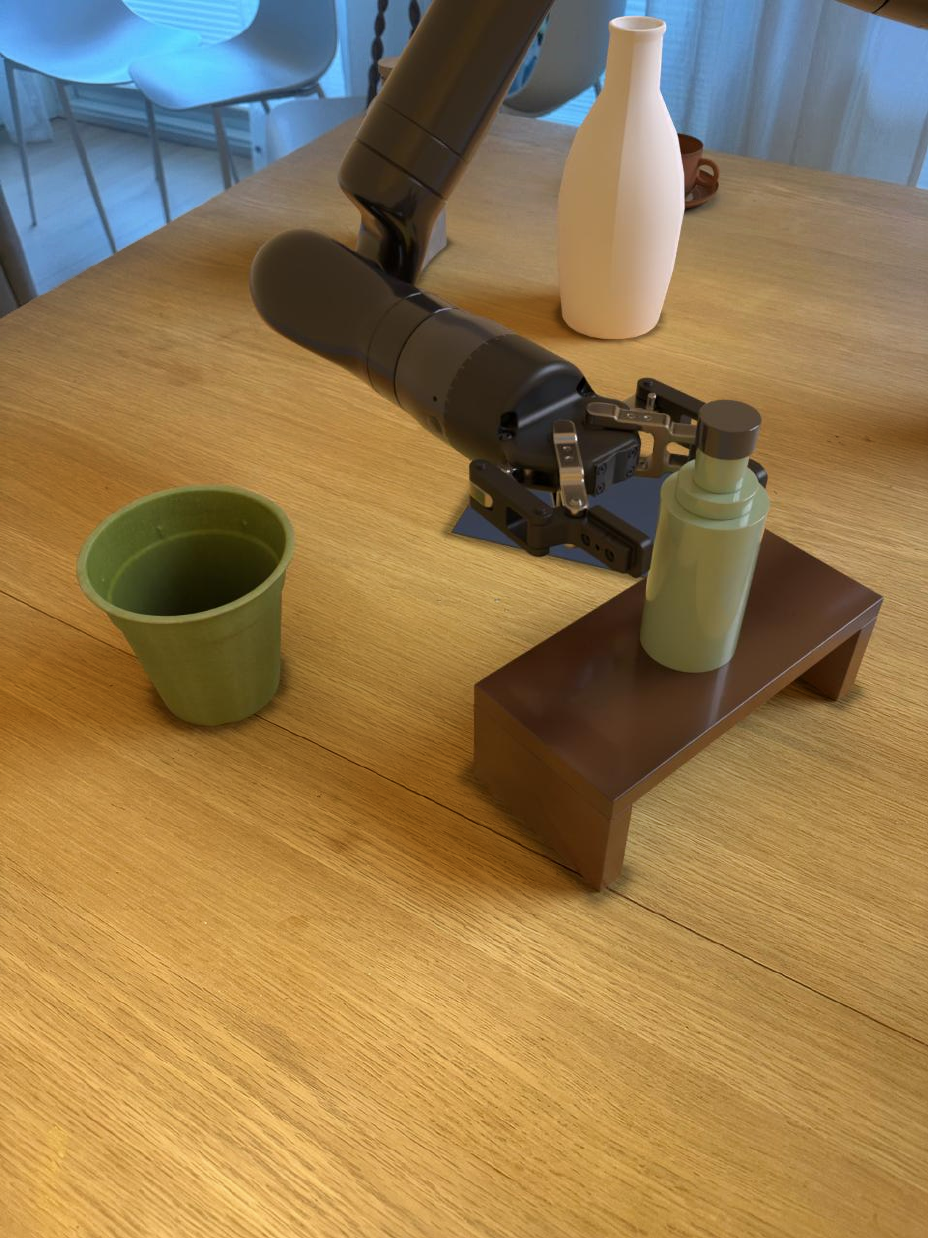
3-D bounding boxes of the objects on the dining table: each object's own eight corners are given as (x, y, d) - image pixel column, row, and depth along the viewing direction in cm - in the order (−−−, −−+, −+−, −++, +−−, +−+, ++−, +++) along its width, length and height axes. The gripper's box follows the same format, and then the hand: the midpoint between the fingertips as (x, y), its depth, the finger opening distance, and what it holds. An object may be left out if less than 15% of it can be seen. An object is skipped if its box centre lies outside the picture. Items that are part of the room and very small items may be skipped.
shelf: (473, 780, 60) (473, 684, 55) (723, 610, 70) (743, 515, 65) (599, 897, 54) (613, 802, 49) (850, 693, 65) (885, 596, 59)
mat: (709, 476, 82) (710, 471, 81) (668, 588, 72) (669, 582, 72) (514, 436, 86) (514, 431, 86) (451, 537, 76) (451, 531, 76)
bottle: (586, 359, 95) (611, 49, 78) (531, 307, 102) (542, 13, 85) (691, 334, 98) (737, 31, 81) (630, 285, 106) (660, -2, 88)
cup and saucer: (718, 183, 125) (727, 129, 121) (713, 223, 117) (722, 166, 112) (618, 175, 127) (623, 122, 123) (605, 214, 119) (609, 158, 114)
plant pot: (157, 617, 70) (118, 478, 63) (332, 628, 69) (314, 489, 62) (94, 753, 62) (40, 612, 54) (292, 769, 61) (266, 627, 53)
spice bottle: (744, 619, 58) (797, 397, 48) (726, 683, 54) (779, 457, 45) (651, 597, 59) (685, 377, 50) (628, 658, 56) (660, 434, 46)
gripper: (388, 378, 55) (612, 522, 46) (581, 296, 62) (811, 408, 53) (395, 495, 60) (599, 645, 51) (573, 407, 67) (782, 526, 58)
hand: (706, 524), depth 52 cm, fingers open, 8 cm apart
